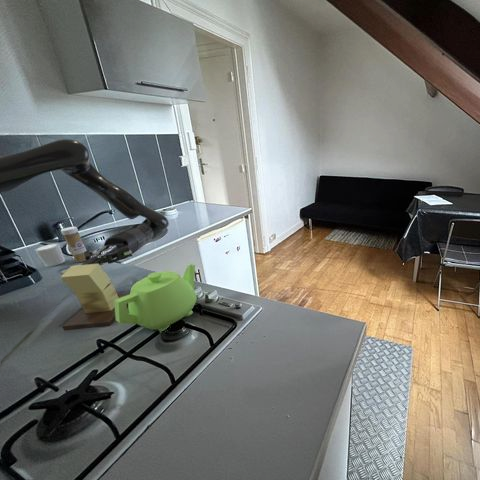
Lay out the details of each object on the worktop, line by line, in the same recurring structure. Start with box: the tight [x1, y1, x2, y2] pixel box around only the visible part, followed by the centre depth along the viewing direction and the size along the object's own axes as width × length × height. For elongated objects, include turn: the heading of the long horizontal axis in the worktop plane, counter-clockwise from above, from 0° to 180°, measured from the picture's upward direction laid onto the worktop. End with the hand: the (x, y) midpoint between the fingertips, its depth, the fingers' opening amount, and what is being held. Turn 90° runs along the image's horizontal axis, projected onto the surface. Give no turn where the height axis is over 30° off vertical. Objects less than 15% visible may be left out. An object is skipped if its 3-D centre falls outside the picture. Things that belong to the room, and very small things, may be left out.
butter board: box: [61, 283, 130, 331], centre depth 69 cm, size 11×13×7 cm
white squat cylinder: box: [34, 243, 66, 268], centre depth 100 cm, size 7×7×7 cm
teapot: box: [114, 263, 198, 333], centre depth 64 cm, size 20×13×13 cm
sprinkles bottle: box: [60, 226, 88, 263], centre depth 100 cm, size 5×5×14 cm
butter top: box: [60, 264, 112, 295], centre depth 65 cm, size 6×4×6 cm, turn 94°
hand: (85, 268), depth 66 cm, fingers closed
